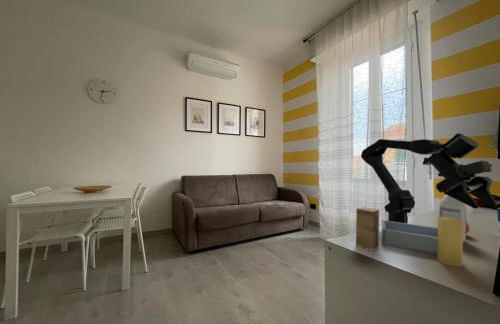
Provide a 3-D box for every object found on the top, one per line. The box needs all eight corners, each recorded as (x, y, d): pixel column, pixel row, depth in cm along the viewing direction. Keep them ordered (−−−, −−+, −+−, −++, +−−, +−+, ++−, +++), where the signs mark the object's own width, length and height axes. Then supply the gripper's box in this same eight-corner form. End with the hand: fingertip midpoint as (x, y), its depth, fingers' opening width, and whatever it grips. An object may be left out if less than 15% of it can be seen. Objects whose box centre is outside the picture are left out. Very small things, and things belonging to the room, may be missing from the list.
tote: (382, 244, 69) (382, 229, 69) (381, 232, 81) (382, 220, 81) (454, 257, 60) (454, 240, 60) (442, 242, 72) (442, 228, 72)
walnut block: (362, 241, 71) (362, 206, 71) (378, 246, 68) (379, 209, 68) (355, 245, 68) (356, 208, 68) (372, 250, 64) (373, 211, 64)
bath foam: (450, 235, 79) (451, 183, 79) (471, 242, 72) (472, 185, 72) (433, 235, 79) (434, 183, 79) (453, 242, 72) (454, 185, 72)
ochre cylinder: (451, 267, 54) (452, 221, 54) (432, 258, 59) (433, 216, 59) (467, 266, 55) (468, 221, 55) (447, 257, 60) (448, 216, 60)
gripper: (451, 150, 64) (498, 194, 54) (488, 152, 70) (535, 192, 60) (421, 172, 72) (456, 213, 63) (455, 172, 78) (493, 210, 68)
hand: (486, 207), depth 63 cm, fingers open, 9 cm apart
